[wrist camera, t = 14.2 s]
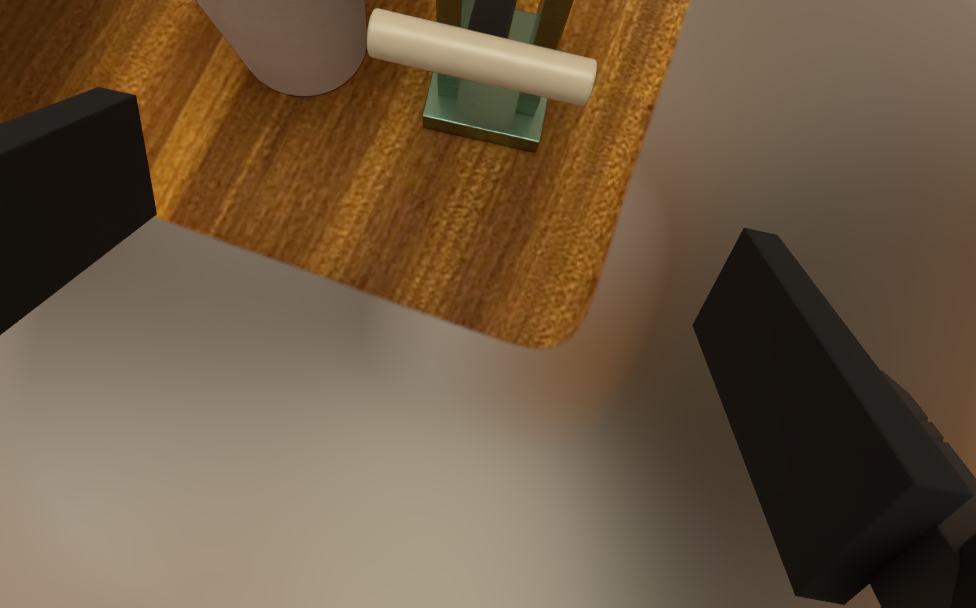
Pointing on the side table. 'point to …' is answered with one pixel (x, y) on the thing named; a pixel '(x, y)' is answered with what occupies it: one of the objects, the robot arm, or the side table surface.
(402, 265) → the side table surface
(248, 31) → the coffee cup
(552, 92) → the lever
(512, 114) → the bracket
